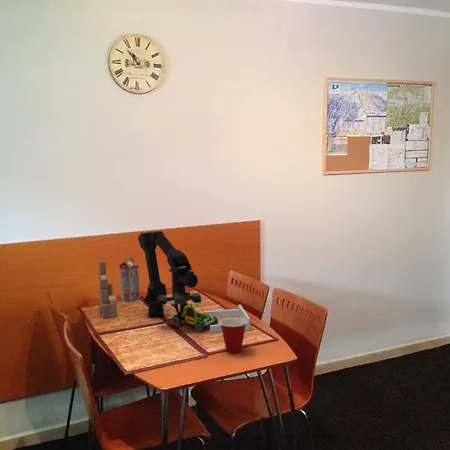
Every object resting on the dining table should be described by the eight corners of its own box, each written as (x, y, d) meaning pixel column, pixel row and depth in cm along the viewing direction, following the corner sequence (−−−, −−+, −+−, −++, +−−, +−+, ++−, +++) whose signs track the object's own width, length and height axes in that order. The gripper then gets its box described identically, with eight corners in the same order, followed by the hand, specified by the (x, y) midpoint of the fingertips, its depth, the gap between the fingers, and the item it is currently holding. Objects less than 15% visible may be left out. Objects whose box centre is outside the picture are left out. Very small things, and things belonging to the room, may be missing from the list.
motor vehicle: (201, 333, 202) (201, 309, 201) (168, 324, 214) (167, 301, 212) (218, 325, 211) (218, 302, 210) (185, 317, 223) (185, 295, 221)
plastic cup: (239, 342, 192) (239, 314, 190) (252, 352, 183) (252, 322, 181) (214, 347, 187) (214, 318, 185) (227, 358, 178) (227, 327, 176)
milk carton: (139, 298, 250) (137, 257, 246) (130, 302, 244) (128, 260, 241) (129, 296, 253) (128, 256, 250) (120, 300, 248) (119, 258, 244)
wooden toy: (118, 317, 223) (115, 264, 219) (103, 319, 220) (100, 266, 216) (112, 307, 237) (110, 257, 233) (99, 308, 234) (96, 258, 231)
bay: (210, 332, 203) (210, 321, 202) (204, 317, 221) (204, 307, 221) (250, 330, 206) (250, 318, 205) (240, 315, 224) (240, 304, 224)
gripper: (157, 289, 197) (158, 325, 200) (202, 286, 200) (203, 322, 203) (156, 282, 208) (157, 317, 210) (199, 280, 211) (199, 314, 214)
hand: (179, 317), depth 209 cm, fingers closed
